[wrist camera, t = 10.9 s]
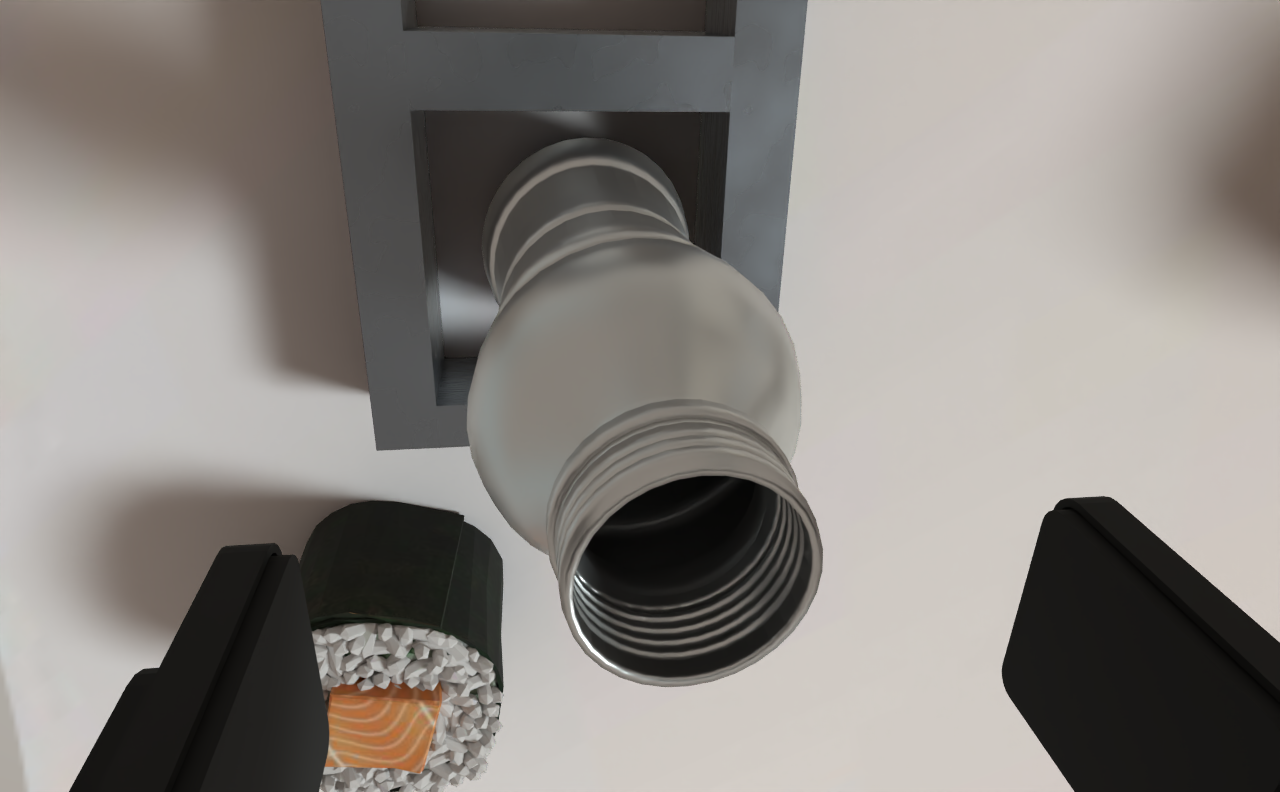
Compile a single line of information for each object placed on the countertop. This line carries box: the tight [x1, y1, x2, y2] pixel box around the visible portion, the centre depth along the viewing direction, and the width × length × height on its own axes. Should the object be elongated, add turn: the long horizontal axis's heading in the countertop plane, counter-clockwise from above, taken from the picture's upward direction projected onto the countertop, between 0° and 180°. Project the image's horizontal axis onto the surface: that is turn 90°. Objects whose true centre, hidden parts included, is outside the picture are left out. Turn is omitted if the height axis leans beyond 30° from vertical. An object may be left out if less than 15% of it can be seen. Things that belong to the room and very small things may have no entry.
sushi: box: [299, 501, 504, 792], centre depth 31 cm, size 8×8×8 cm
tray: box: [321, 0, 808, 451], centre depth 25 cm, size 23×13×4 cm, turn 179°
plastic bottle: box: [467, 137, 823, 687], centre depth 20 cm, size 6×7×20 cm
